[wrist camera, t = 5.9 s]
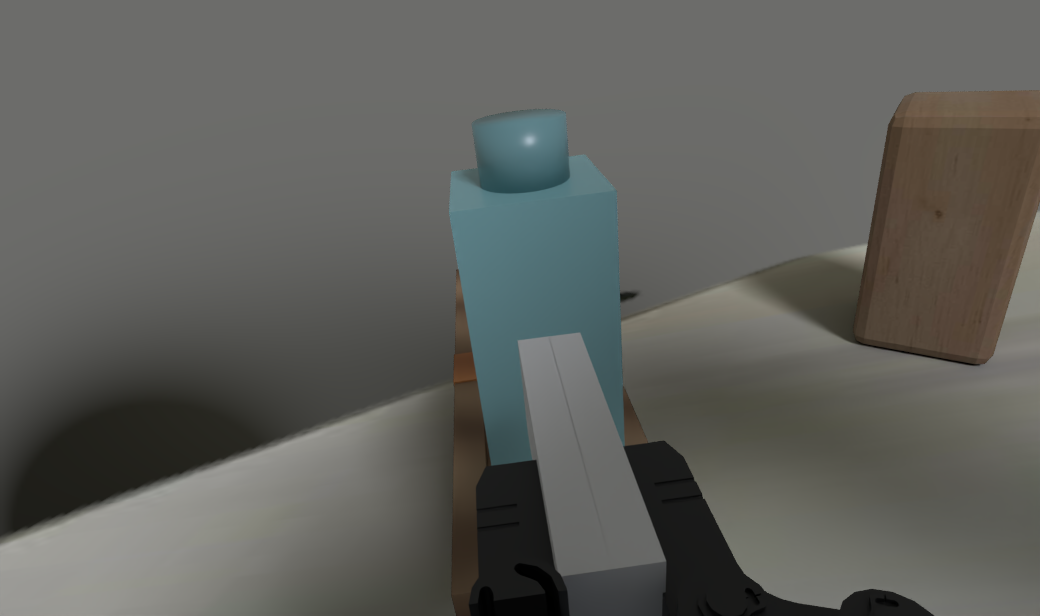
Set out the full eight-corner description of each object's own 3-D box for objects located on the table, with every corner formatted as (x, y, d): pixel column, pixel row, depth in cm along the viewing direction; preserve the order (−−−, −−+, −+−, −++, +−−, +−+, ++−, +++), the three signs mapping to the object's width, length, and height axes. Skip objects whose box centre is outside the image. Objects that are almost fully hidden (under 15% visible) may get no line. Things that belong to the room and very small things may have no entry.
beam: (691, 734, 27) (700, 555, 21) (491, 766, 26) (449, 593, 21) (575, 372, 53) (566, 253, 48) (475, 386, 53) (455, 268, 48)
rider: (627, 536, 24) (614, 121, 17) (506, 554, 24) (437, 143, 16) (601, 455, 29) (581, 98, 21) (499, 469, 28) (442, 115, 21)
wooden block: (849, 345, 53) (889, 113, 44) (865, 298, 60) (902, 90, 51) (990, 371, 47) (1068, 113, 38) (988, 317, 54) (1055, 87, 45)
